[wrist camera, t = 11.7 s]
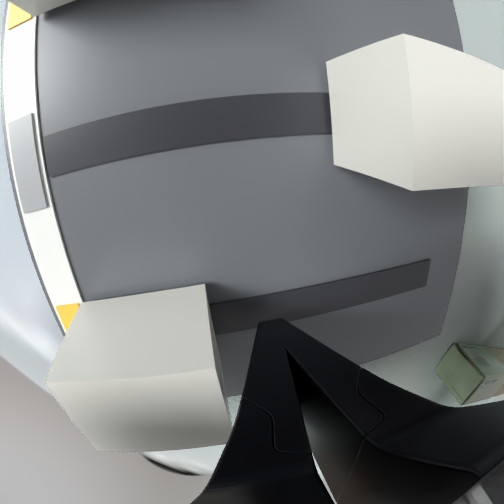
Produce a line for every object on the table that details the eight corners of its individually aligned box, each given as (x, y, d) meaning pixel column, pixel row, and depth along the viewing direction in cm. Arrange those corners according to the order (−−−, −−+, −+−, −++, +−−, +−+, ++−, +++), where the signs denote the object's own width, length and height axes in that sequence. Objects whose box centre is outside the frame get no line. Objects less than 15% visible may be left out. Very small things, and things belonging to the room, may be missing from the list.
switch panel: (402, -61, 6) (428, -75, 4) (418, 314, 15) (442, 336, 13) (41, -52, 4) (22, -73, 2) (111, 377, 12) (104, 412, 10)
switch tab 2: (430, 76, 7) (512, 74, 4) (434, 161, 9) (513, 184, 6) (326, 61, 7) (403, 33, 4) (333, 164, 8) (412, 191, 5)
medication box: (429, 370, 18) (459, 407, 14) (451, 340, 17) (485, 376, 13) (489, 369, 21) (511, 393, 18) (504, 347, 20) (528, 370, 17)
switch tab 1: (204, 283, 9) (215, 367, 6) (220, 358, 10) (235, 442, 7) (81, 302, 8) (44, 382, 5) (112, 371, 9) (98, 451, 6)
